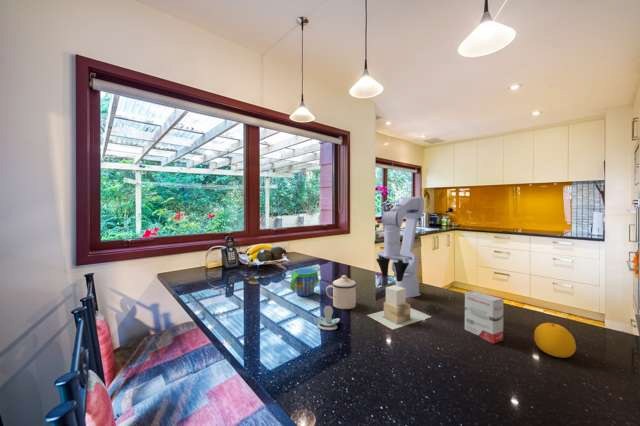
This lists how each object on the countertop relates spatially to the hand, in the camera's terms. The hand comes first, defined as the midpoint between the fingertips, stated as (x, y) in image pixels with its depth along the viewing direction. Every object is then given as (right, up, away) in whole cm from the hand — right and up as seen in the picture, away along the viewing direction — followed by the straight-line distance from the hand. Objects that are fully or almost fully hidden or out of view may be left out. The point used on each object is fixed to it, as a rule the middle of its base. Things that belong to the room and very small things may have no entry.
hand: (391, 278), depth 97 cm
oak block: (-2, -10, -12) cm, 16 cm away
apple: (+32, -11, -32) cm, 47 cm away
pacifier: (-25, -11, -16) cm, 32 cm away
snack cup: (-34, -11, +15) cm, 38 cm away
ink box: (+20, -11, -23) cm, 32 cm away
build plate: (0, -11, -10) cm, 15 cm away
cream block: (-2, -5, -12) cm, 13 cm away
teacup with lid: (-19, -11, +1) cm, 22 cm away
